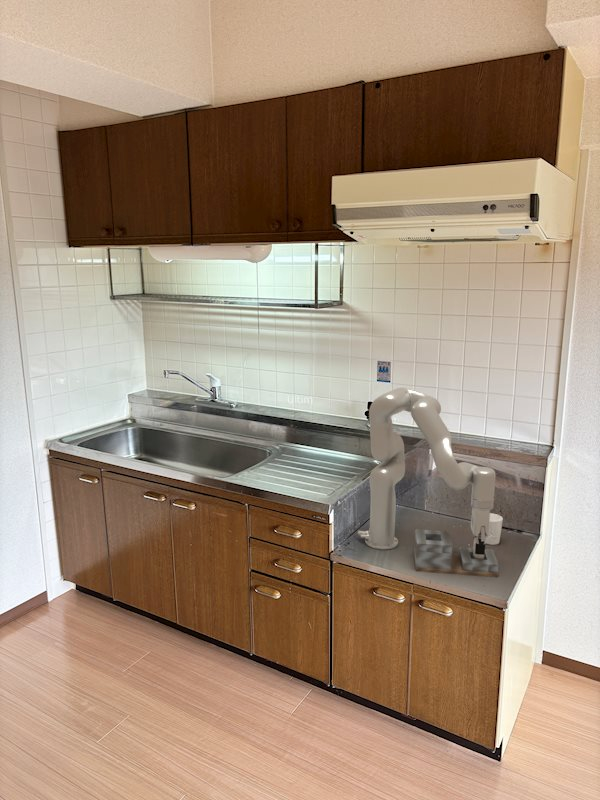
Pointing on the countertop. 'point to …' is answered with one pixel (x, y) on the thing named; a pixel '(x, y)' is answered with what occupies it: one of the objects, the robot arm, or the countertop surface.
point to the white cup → (494, 529)
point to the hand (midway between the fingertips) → (478, 550)
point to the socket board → (450, 556)
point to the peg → (475, 556)
